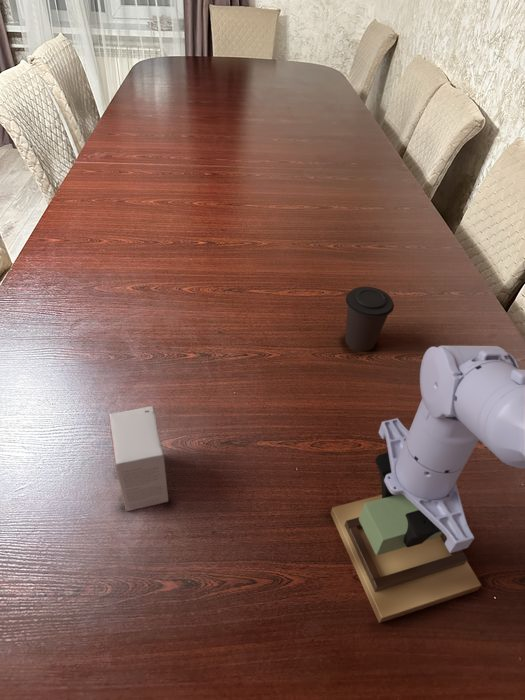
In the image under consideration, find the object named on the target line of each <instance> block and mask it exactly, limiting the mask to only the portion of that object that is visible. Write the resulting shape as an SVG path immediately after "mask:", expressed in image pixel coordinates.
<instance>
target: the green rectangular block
mask: <svg viewBox="0 0 525 700" xmlns="http://www.w3.org/2000/svg"><path fill="white" fill-rule="evenodd" d="M417 510H419V509H418V508H417V507H416V506H415V505H413V504H412V503H411V502H410V501H409V500H408V499H407V498H406V497H405V496H404V495H402V494H398V495H394V496H390V497H386V498H382V499H379V500H375V501H371V502H367V503H364V506H363V509H362V511H361V514H360V517H359V521H360V523H361V525H362V527H363V529H364V531H365V534H366V536H367V538H368V540H369V542H370V544H371V546H372V548H373V550H374V552H375V554H376V556H377V555H381V554H384V553H387V552H391V551H394V550H397V549H401V548H404V547H406V545H405V543H404V537H405V534H406V532H407V528H408V521H407V518H406V516H405V515H406V514H407V513H410V512H414V511H417ZM441 534H442V531H441V532H437V533H435V534H434V535H432V536H430V537H429V538H428V539H426V540H425V541H427V540H431V539H434V538H437V537H440V535H441Z"/></svg>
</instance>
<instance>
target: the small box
mask: <svg viewBox="0 0 525 700" xmlns="http://www.w3.org/2000/svg"><path fill="white" fill-rule="evenodd" d="M155 413H156V412H155V408H154V406H153V405H149V406H145V407H140V408H134V409H128V410H124V411H117V412H113V413H109V414H108V419H109V426H110V428H109V429H110V436H111V437H110V438H111V443H112V451H113V458H114V464H115V469H116V474H117V478H118V483H119V486H120V491H121V495H122V500H123V503H124V510H125V512H130V511H133V510H139V509H143V508H148V507H151V506H156V505H160V504H164V503H168V502H169V493H168V484H167V483H168V482H167V475H166V473H167V472H166V465H165V464H166V463H165V453H164V451H163V447H162V442H161V438H160V434H159V429H158V425H157V420H156V414H155Z"/></svg>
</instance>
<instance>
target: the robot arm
mask: <svg viewBox="0 0 525 700" xmlns="http://www.w3.org/2000/svg"><path fill="white" fill-rule="evenodd" d="M419 388H420V389H419V390H420V395H421V400H420V403H419V405H418V408H417V410H416V413H415V415H414V418H413V421H412V423H411V425H410V427H409V429H408V428H407V427H405V426H404V425H403V423H402V422H401V420H400V419H399V418H398V417H396V418H392V419H387V420H383V421H381V424H380V426H379V430H378V434H379V436H380V438H381V440H385V442H386V447H387V451H386V452H384V453H379V454H378V455H377V456H376V457H375V460H374V462H375V465H376V466H377V469H378V473H379V477H380V481H381V495H382V498H386V497H390V496H394V495H398V494H402V495H404V496H405V497H406V498H407V499H408V500H409V501H410V502H411V503H412V504H413V505H415V506H416V507H417V508H418V509H419V510H417V511H414V512H410V513H407V514H406V515H405V516H406V518H407V521H408V528H407V532H406V534H405V537H404V543H405V545H406V547H412V546H415V545H418V544H422V543H423V542H424V541H425V540H426V539H428V538H429V537H430V536H432V535H434V534H435V533H437V532H441V531H442V532H443V533H444V534H445V535H446V537H447V540H446V542H445V546H446V548H447V549H448V551H449V552H450V553H452V552H456V551H459V550H462V551H463V550H465V549H468V548H469V547H470V546H471V544H472V542H473V541H474V540H475V536H474V534H473V533H472V531H471V529H470V527H469V525H468V522H467V519H466V514H465V511H464V508H463V504H462V501H461V496H460V492H459V489H458V485H457V481H458V478H459V477H460V475H461V474H462V471H463V470H464V468H465V466H466V464H467V463H468V461H469V459H470V457H471V455H472V453H473V452H474V451H475V448H476V446H477V444H478V442H479V441H480V442H481V443H482V444H483V445H484V446H485V447H486V448H487V449H488V450H489V451H490V452H491V454H493V455H495V457H497V459H499V461H501V462H502V463H504V464H505V465H507V466H510V467H511V468H515V469H516V468H517V469H523V470H525V369H520V366H519V363H518V361H517V360H516V357H515V356H513V355H512V354H511V353H510V352H507V351H506V350H505V349H504V348H503V347H502V346H501V347H500V346H498V345H438V346H430V347H429V348H428V349H426V351H425V352H424V354H423V357H422V360H421V364H420V370H419Z"/></svg>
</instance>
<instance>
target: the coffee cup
mask: <svg viewBox="0 0 525 700" xmlns="http://www.w3.org/2000/svg"><path fill="white" fill-rule="evenodd" d="M345 303H346V305H347V308H346V309H347V310H346V323H345V336H344V341H345V344H346V345H347V346H348V347H349V348H350V349H352V350H354V351H357V352H369V351H372V349H374V347H375V345H376V344H377V340H378V339H379V336H380V334H381V331H382V329H383V327H384V325H385V323H386V320H387V318H388V316H389V315H390V314H391V313H392V312H393V311H394V308H395V304H394V301H393V298H392V297H391V296H390V295H389V294H388V293H387V292H386V291H384V290H382V289H380V288H377V287H373V286H358V287H355V288H353V289H351V290H350V291H349V292H348V293H347V295H346V297H345Z"/></svg>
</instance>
